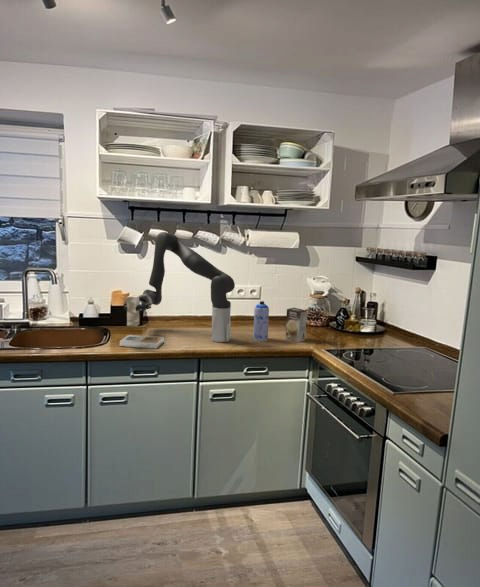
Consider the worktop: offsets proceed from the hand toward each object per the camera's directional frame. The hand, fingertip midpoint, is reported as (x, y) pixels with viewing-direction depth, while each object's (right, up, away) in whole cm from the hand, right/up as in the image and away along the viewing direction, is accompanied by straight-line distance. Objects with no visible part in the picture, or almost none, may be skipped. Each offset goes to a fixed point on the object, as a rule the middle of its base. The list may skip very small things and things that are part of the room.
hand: (131, 308), depth 218 cm
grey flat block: (+4, -17, +5) cm, 18 cm away
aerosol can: (+62, -17, +22) cm, 68 cm away
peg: (0, -8, +4) cm, 9 cm away
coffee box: (+80, -17, +25) cm, 86 cm away
